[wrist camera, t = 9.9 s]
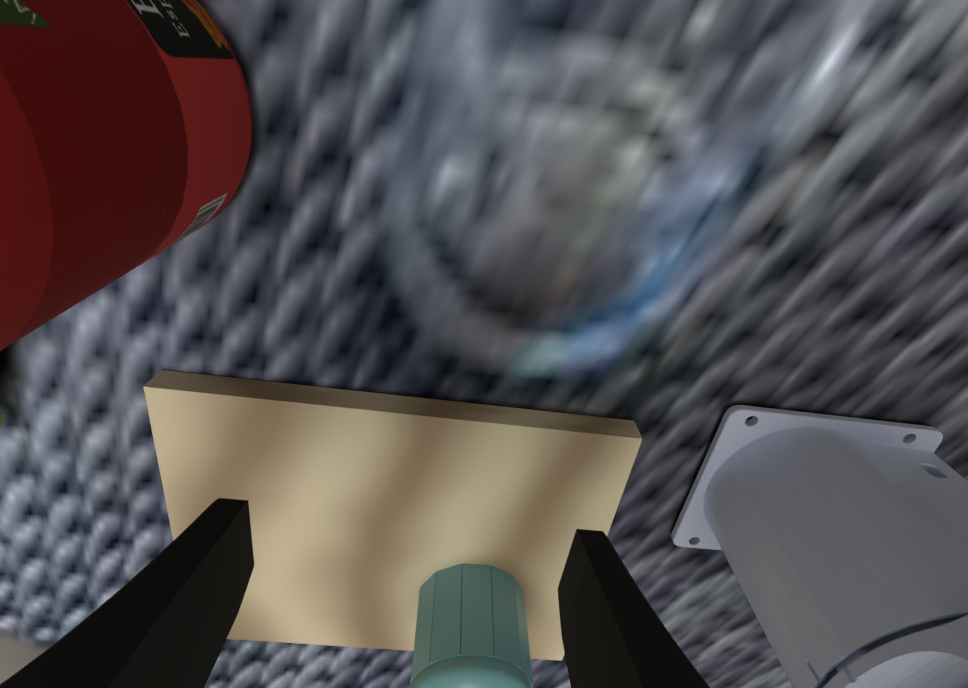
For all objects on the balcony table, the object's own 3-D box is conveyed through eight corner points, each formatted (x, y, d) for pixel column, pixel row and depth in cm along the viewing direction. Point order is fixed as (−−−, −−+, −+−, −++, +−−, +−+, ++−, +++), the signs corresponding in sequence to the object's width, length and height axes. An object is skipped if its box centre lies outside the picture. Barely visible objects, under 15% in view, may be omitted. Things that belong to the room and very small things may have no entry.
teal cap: (530, 567, 24) (542, 679, 20) (514, 633, 26) (523, 747, 22) (422, 560, 24) (411, 673, 19) (416, 628, 26) (405, 742, 22)
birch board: (634, 420, 22) (642, 438, 21) (558, 638, 29) (561, 660, 28) (160, 369, 20) (143, 386, 19) (202, 614, 27) (192, 636, 26)
